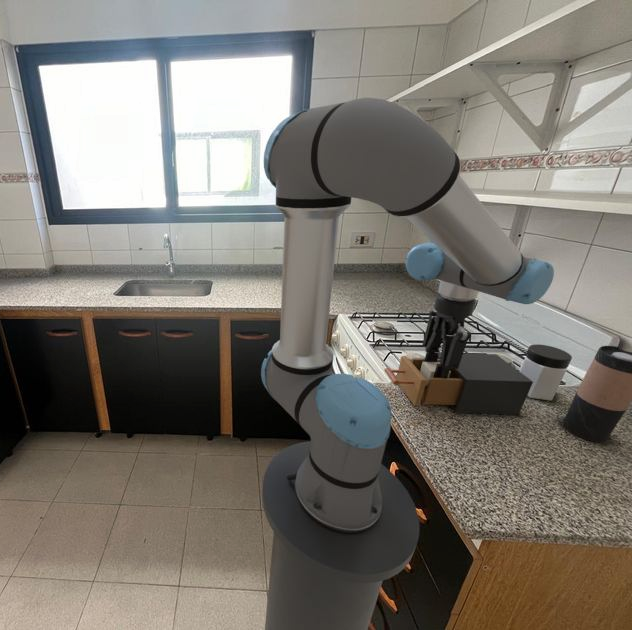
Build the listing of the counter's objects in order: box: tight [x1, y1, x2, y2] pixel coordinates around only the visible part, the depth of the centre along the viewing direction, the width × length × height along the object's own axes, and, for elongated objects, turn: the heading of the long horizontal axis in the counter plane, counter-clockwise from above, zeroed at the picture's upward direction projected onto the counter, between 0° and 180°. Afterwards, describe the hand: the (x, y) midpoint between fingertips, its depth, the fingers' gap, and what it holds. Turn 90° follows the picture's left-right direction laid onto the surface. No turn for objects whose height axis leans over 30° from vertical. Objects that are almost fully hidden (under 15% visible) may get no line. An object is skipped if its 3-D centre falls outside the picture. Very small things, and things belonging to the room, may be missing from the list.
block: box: [420, 362, 451, 386], centre depth 88 cm, size 5×5×5 cm
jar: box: [518, 343, 573, 402], centre depth 90 cm, size 9×8×12 cm
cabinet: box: [437, 352, 533, 416], centre depth 88 cm, size 15×13×10 cm
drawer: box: [384, 355, 464, 407], centre depth 89 cm, size 18×11×8 cm, turn 86°
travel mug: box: [562, 345, 632, 443], centre depth 74 cm, size 8×8×20 cm
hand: (431, 381), depth 88 cm, fingers closed on block, 5 cm apart
